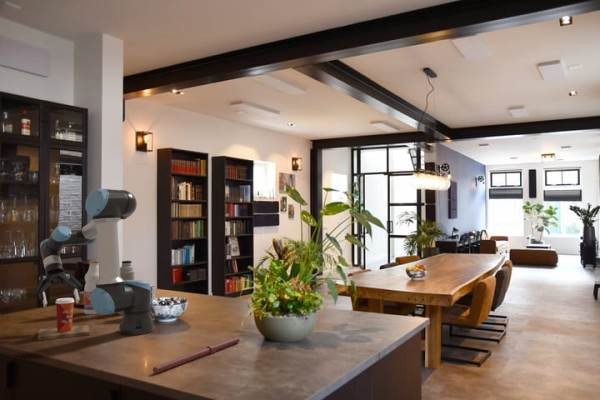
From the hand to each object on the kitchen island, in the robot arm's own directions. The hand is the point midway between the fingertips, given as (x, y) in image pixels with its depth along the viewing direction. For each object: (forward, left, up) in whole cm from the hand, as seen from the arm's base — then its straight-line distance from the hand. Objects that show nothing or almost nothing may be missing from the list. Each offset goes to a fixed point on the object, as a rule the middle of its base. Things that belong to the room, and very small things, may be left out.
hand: (62, 303), depth 215 cm
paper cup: (-3, +1, -12) cm, 12 cm away
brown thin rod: (-77, +10, -14) cm, 79 cm away
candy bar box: (-15, -39, -13) cm, 43 cm away
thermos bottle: (0, -44, -13) cm, 46 cm away
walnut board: (-3, +1, -13) cm, 13 cm away
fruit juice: (+17, -39, -13) cm, 44 cm away
